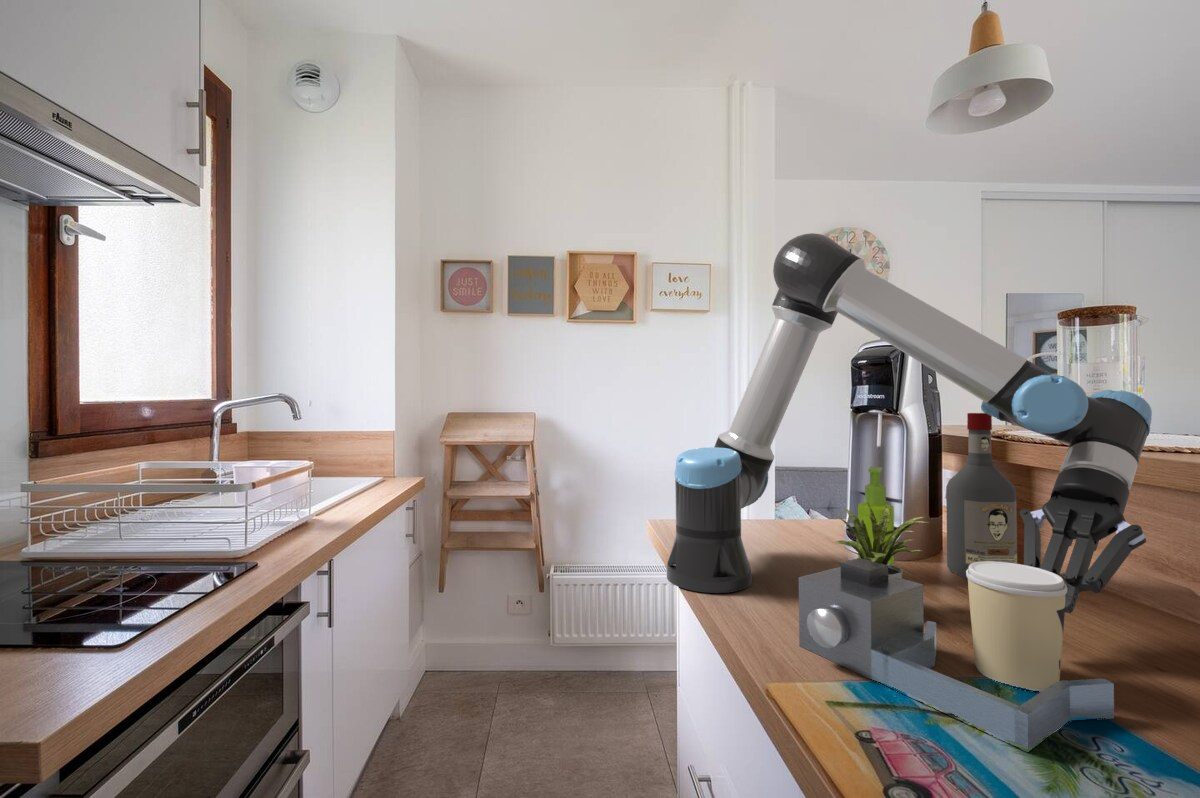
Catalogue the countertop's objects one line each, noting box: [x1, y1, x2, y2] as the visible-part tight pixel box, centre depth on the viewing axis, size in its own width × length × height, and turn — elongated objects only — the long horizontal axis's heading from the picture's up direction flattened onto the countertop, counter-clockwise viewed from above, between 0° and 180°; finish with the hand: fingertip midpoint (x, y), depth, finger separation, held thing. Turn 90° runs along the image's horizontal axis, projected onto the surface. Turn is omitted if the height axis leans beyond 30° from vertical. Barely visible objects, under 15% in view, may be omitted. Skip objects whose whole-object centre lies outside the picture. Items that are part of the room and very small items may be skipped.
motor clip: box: [798, 557, 1115, 749], centre depth 61 cm, size 16×27×11 cm, turn 31°
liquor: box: [945, 412, 1018, 581], centre depth 98 cm, size 9×9×30 cm
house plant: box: [834, 502, 930, 579], centre depth 81 cm, size 14×14×16 cm
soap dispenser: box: [857, 466, 895, 566], centre depth 98 cm, size 6×7×20 cm
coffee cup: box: [966, 561, 1067, 693], centre depth 62 cm, size 9×9×12 cm
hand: (1043, 628), depth 65 cm, fingers closed
